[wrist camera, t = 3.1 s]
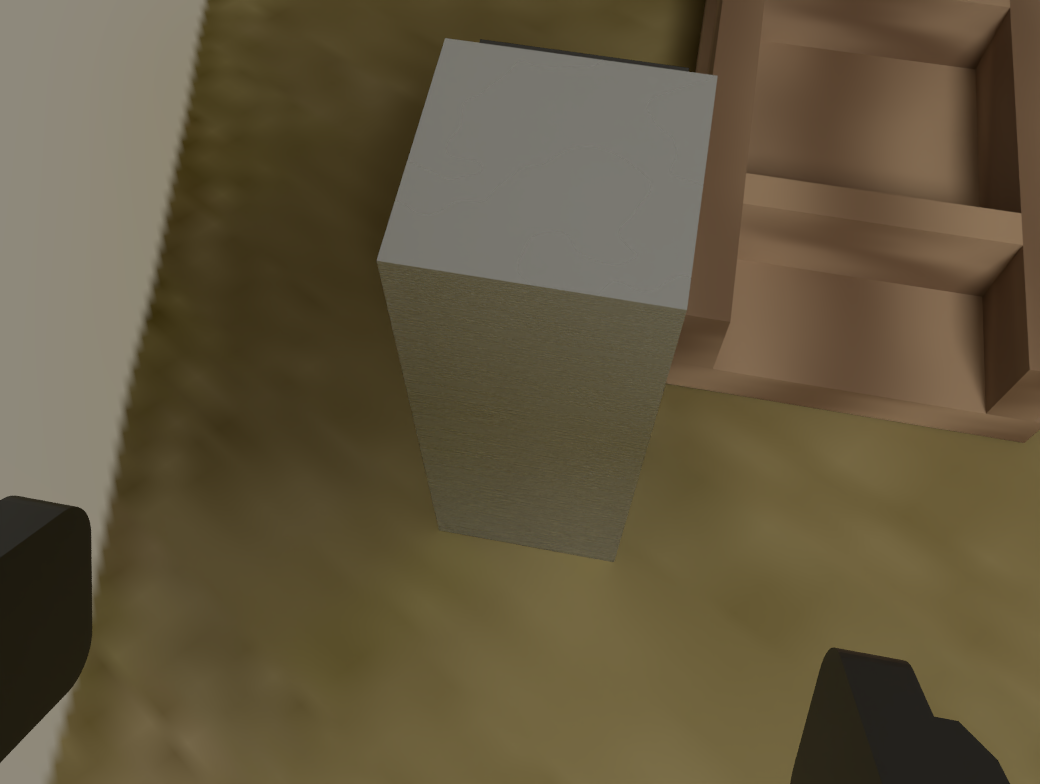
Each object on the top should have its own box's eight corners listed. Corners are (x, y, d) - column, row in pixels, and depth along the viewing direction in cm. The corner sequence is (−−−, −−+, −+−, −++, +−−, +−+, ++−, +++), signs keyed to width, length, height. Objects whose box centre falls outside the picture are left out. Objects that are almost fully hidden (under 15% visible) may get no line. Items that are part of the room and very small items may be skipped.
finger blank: (640, 384, 27) (721, 49, 16) (613, 561, 24) (687, 310, 14) (480, 357, 27) (453, 12, 16) (439, 529, 25) (376, 260, 14)
